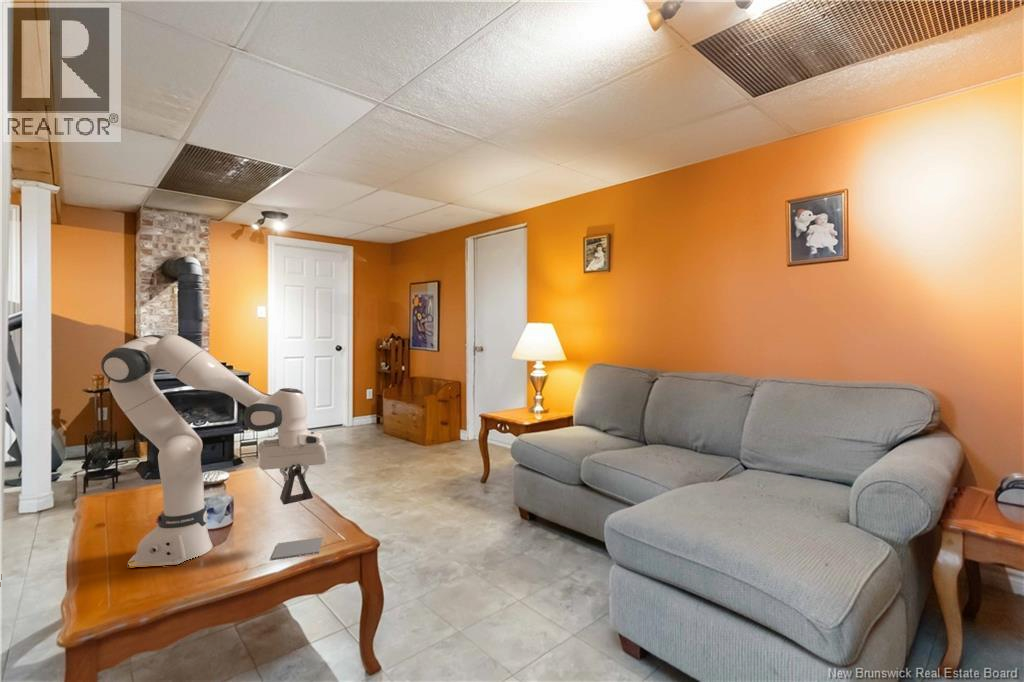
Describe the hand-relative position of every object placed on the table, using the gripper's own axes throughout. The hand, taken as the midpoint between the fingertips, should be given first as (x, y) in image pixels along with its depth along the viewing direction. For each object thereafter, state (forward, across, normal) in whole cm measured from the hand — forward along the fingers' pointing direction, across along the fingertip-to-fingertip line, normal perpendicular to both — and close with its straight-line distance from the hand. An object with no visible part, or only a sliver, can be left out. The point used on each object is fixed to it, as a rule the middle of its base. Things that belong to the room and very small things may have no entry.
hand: (294, 479), depth 160 cm
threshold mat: (+23, 0, 0) cm, 23 cm away
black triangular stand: (+7, 0, 0) cm, 7 cm away
